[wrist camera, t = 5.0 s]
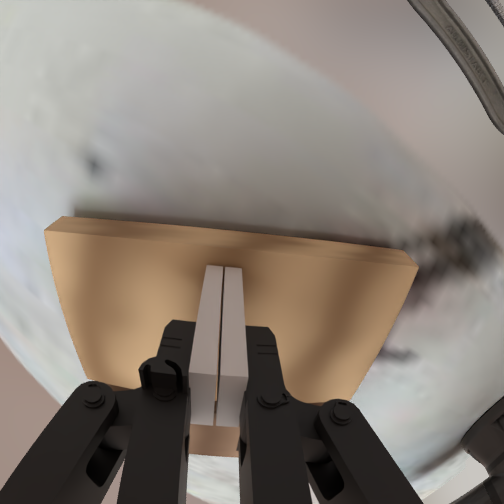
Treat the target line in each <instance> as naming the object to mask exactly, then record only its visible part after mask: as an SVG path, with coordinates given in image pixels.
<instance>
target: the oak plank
mask: <svg viewBox="0 0 504 504" xmlns="http://www.w3.org/2000/svg"><path fill="white" fill-rule="evenodd" d="M44 235H45V240H46V246H47V251H48V256H49V261H50V265H51V270H52V274H53V278H54V282H55V286H56V290H57V294H58V297H59V301H60V304H61V308H62V311H63V314H64V317H65V320H66V324H67V327H68V330H69V332H70V335H71V338H72V341H73V344H74V346H75V349H76V352H77V354H78V357H79V359H80V362H81V364H82V367H83V369H84V372H85V374H86V376H87V379H91V380H95V381H99V382H103V383H107V384H111V385H116V386H120V387H125V388H130V389H136V388H139V387H141V381H140V376H139V371H138V369H139V367H140V366H141V364H142V363H143V362H144V361H146V360H147V359H149V358H152V357H155V356H156V355H157V352H158V348H159V346H160V341H161V338H162V335H163V331H164V328H165V326H166V325H167V324H168V323H169V322H170V321H171V320H172V319H174V320H183V321H192V322H197V316H198V310H199V305H200V299H201V293H202V288H203V282H204V277H205V271H206V266H207V265H213V266H223V277H222V291H221V306H222V295H223V285H224V274H225V267H234V268H242V281H243V298H244V315H245V325H247V326H262V327H269V329H270V330H271V331H272V332H273V334H274V335H275V338H276V343H277V348H278V353H279V354H278V355H279V359H280V364H281V369H282V374H283V380H284V385H285V387H286V390H287V391H288V392H290V394H291V395H292V396H293V397H294V398H295V399H297V400H299V401H302V402H305V403H317V402H327V401H329V400H331V399H343V400H350V399H351V398H352V396H353V395H354V393H355V392H356V390H357V388H358V387H359V385H360V384H361V382H362V380H363V379H364V377H365V375H366V374H367V372H368V370H369V369H370V367H371V365H372V363H373V362H374V360H375V358H376V356H377V354H378V353H379V351H380V349H381V347H382V345H383V343H384V342H385V340H386V338H387V336H388V334H389V332H390V330H391V328H392V326H393V324H394V322H395V320H396V318H397V316H398V314H399V312H400V310H401V307H402V305H403V303H404V301H405V299H406V296H407V294H408V292H409V290H410V287H411V285H412V283H413V280H414V278H415V276H416V273H417V271H418V268H419V266H418V265H417V264H416V263H415V262H414V261H413V260H412V259H411V258H410V257H409V256H408V255H407V254H406V253H405V252H404V251H403V250H397V249H390V248H382V247H374V246H366V245H358V244H349V243H341V242H333V241H324V240H315V239H307V238H298V237H289V236H279V235H270V234H261V233H251V232H241V231H231V230H221V229H211V228H200V227H190V226H179V225H167V224H156V223H144V222H132V221H120V220H107V219H94V218H80V217H66V216H62V217H60V218H59V219H58V220H56V221H55V222H54V223H53V224H51V225H50V226H49V227H47V228H46V229H45V230H44ZM220 317H221V307H220ZM219 336H220V323H219ZM218 356H219V340H218ZM217 379H218V360H217V378H216V391H215V401H217Z"/></svg>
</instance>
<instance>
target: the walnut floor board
mask: <svg viewBox="0 0 504 504" xmlns="http://www.w3.org/2000/svg"><path fill="white" fill-rule="evenodd" d="M105 384H107V383H105ZM107 385H108V386H110V387H111V388H112V390H113V391H125V390H132V389H130V388H125V387H120V386H116V385H111V384H107ZM324 403H325V402H317V403H308V404H313V405H317V406H322V405H323V404H324ZM216 406H217V401H215V404H214V418H213V426H210V425H199V424H190V443H189V454H198V455H208V456H222V457H239V451H236V449H237V445H238V440H239V436H240V423H239V427H226V426H216Z"/></svg>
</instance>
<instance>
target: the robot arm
mask: <svg viewBox="0 0 504 504" xmlns="http://www.w3.org/2000/svg"><path fill="white" fill-rule="evenodd" d="M222 277H223V266H213V265H207V266H206V271H205V277H204V282H203V288H202V293H201V299H200V305H199V310H198V316H197V322H192V321H183V320H174V319H172V320H171V321H170V322H169V323H168V324H167V325H166V326H165V328H164V331H163V335H162V338H161V341H160V346H159V348H158V352H157V355H156V356H155V357H152V358H149V359H147V360H146V361H144V362H143V363H142V364H141V366H140V367H139V369H138V371H139V376H140V381H141V387H139V388H136V389H132V390H125V391H113V390H112V388H111V387H110V386H108V385H107V384H105V383H103V382H99V381H88V382H86V383H83V384H81V385H80V386H79V387H77V388H76V389H75V390H74V392H73V393H72V394H71V395H70V397H69V398H68V399H67V400H66V402H65V403H64V404H63V406H62V407H61V408H60V409H59V411H58V412H57V413H56V415H55V416H54V417H53V419H52V420H51V421H50V422H49V424H48V425H47V426H46V428H45V429H44V430H43V432H42V433H41V434H40V436H39V437H38V438H37V440H36V441H35V442H34V444H33V445H32V446H31V448H30V449H29V451H28V452H27V453H26V455H25V456H24V457H23V459H22V460H21V462H20V463H19V465H18V466H17V467H16V469H15V470H14V472H13V473H12V475H11V476H10V478H9V479H8V481H7V482H6V483H5V485H4V487H3V488H2V489H1V491H0V504H101V502H102V500H103V499H104V496H105V495H106V493H107V491H108V489H109V487H110V485H111V483H112V482H113V480H114V478H115V476H116V474H117V472H118V470H119V469H120V467H121V465H122V463H123V461H124V459H125V462H124V467H123V472H122V477H121V482H120V488H119V493H118V499H117V504H186V490H187V472H188V457H189V443H190V424H199V425H210V426H213V418H214V404H215V391H216V378H217V360H218V379H217V406H216V426H226V427H239V423H240V436H239V440H238V445H237V449H236V451H239V483H240V504H313V503H312V498H311V492H310V486H311V488H312V490H313V492H314V494H315V496H316V498H317V500H318V502H319V504H423V502H422V501H421V499H420V498H419V496H418V495H417V493H416V492H415V490H414V489H413V487H412V486H411V485H410V483H409V482H408V480H407V479H406V477H405V476H404V474H403V473H402V471H401V470H400V468H399V467H398V466H397V464H396V463H395V461H394V460H393V458H392V457H391V455H390V454H389V452H388V451H387V450H386V448H385V447H384V445H383V444H382V442H381V441H380V439H379V438H378V436H377V435H376V433H375V432H374V431H373V429H372V428H371V426H370V425H369V423H368V422H367V420H366V419H365V417H364V416H363V414H362V413H361V412H360V410H359V409H358V408H357V407H356V406H355V405H354V404H353V403H351V402H349V401H347V400H343V399H331V400H329V401H327V402H325V403H324V404H323V405H322V406H317V405H313V404H308V403H305V402H302V401H299V400H297V399H295V398H294V397H293V396H292V395H291V394H290V392H288V391H287V390H286V387H285V385H284V380H283V374H282V369H281V364H280V359H279V355H278V354H279V353H278V348H277V343H276V338H275V335H274V334H273V332H272V331H271V330H270V329H269V327H262V326H247V325H245V315H244V298H243V281H242V268H234V267H225V274H224V285H223V295H222V306H221V291H222ZM220 307H221V317H220ZM219 323H220V336H219ZM218 340H219V356H218ZM461 445H462V447H463V448H464V450H465V452H466V453H468V454H470V455H471V456H472V457H473V458H474V459H475V460H477V461H478V462H479V463H481V464H482V465H483V466H484V467H485V468H486V470H487V472H488V474H489V477H488V478H487V479H486V480H484V481H483V482H482V483H480V484H479V485H477V486H476V487H475V488H473V489H472V490H470V491H469V492H467V493H466V494H464V495H463V496H461V497H460V498H458V499H457V500H455V501H453V502H451V503H450V504H504V398H502V399H501V400H500V401H499V402H498V403H496V404H495V405H494V406H493V407H492V408H491V409H490V410H489V411H488V412H487V413H485V414H484V415H483V416H482V417H481V418H480V419H479V420H478V421H477V422H476V423H475V424H474V425H473V427H472V428H471V429H470V430H469V431H468V432H467V433H466V435H465V436H464V438H463V439H462V441H461ZM309 484H310V486H309Z"/></svg>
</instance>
